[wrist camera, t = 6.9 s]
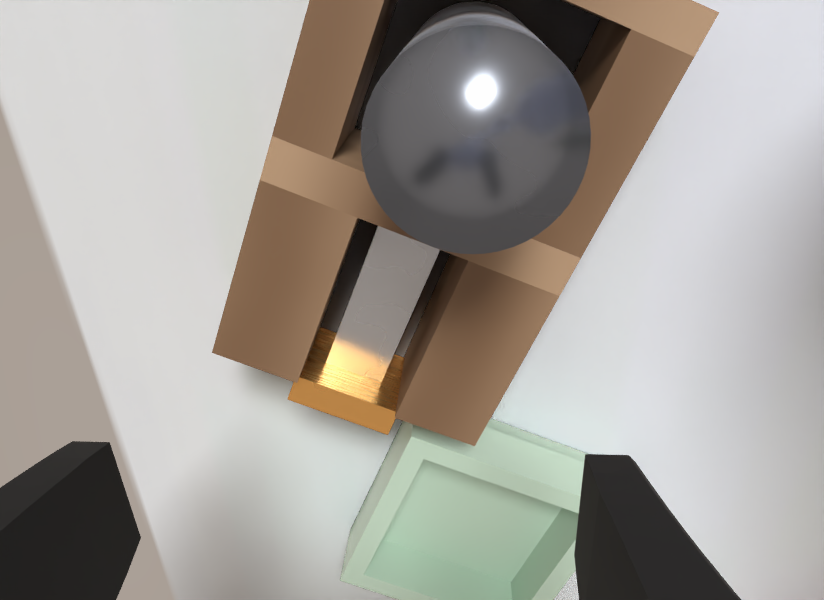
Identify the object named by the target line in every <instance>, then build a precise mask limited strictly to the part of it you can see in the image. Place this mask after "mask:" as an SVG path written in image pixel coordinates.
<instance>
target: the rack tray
mask: <svg viewBox="0 0 824 600" xmlns="http://www.w3.org/2000/svg"><path fill="white" fill-rule="evenodd" d="M585 454H587V453H584V452H581V451H579V450H576V449H573V448H570V447H568V446H565V445H562V444H559V443H557V442H554V441H551V440H548V439H546V438H543V437H540V436H537V435H535V434H532V433H529V432H526V431H524V430H521V429H518V428H515V427H512V426H510V425H507V424H504V423H501V422H499V421H496V420H493V419H490V420H489V422H488V424H487V425H486V427H485V429H484V431H483V433H482V434H481V436H480V438H479V440H478V441H477V443H476V445H475V446H472V445H470V444H467V443H464V442H461V441H458V440H456V439H453V438H450V437H447V436H444V435H442V434H439V433H436V432H433V431H430V430H428V429H425V428H422V427H419V426H416V425H414V424H411V423H408V422H405V421H402V423H401V426H400V428H399V430H398V432H397V434H396V436H395V438H394V440H393V442H392V444H391V446H390V448H389V451H388V453H387V455H386V457H385V459H384V461H383V463H382V465H381V467H380V469H379V471H378V474H377V476H376V478H375V480H374V482H373V484H372V486H371V488H370V490H369V492H368V494H367V496H366V499H365V501H364V503H363V505H362V507H361V509H360V511H359V513H358V515H357V517H356V519H355V521H354V524H353V526H352V528H351V530H350V535H349V539H348V544H347V549H346V554H345V559H344V563H343V568H342V573H341V578H340V581H342V582H345V583H349V584H352V585H355V586H358V587H361V588H364V589H367V590H370V591H373V592H376V593H379V594H382V595H385V596H388V597H391V598H395V599H398V600H554V598H555V597H556V596H557V594H558V593H559V592H560V590H561V589H562V588H563V586H564V585H565V584H566V582H567V581H568V580H569V578H570V577H571V576H572V574H573V573H574V572H575V570H576V567H575V558H574V552H575V543H576V533H577V524H578V515H579V506H580V497H581V487H582V478H583V469H584V460H585Z"/></svg>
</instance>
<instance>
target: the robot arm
mask: <svg viewBox="0 0 824 600" xmlns="http://www.w3.org/2000/svg"><path fill="white" fill-rule="evenodd" d="M140 538H141V537H140V534H139V531H138V528H137V525H136V522H135V519H134V515H133V512H132V510H131V506H130V503H129V500H128V497H127V494H126V491H125V488H124V485H123V482H122V479H121V476H120V473H119V470H118V467H117V464H116V460H115V457H114V454H113V451H112V448H111V445H110V443H109V442H75V441H73V442H71V443H69V444H67V445H66V446H64V447H62V448H61V449H59V450H57V451H56V452H54V453H52V454H51V455H49V456H48V457H46V458H45V459H43V460H41V461H40V462H38V463H37V464H35V465H34V466H32V467H31V468H29V469H28V470H26V471H25V472H23V473H22V474H20V475H19V476H17V477H16V478H14V479H13V480H11V481H10V482H8V483H7V484H5V485H4V486H2V487H1V488H0V600H116V598H117V596H118V594H119V591H120V589H121V587H122V584H123V582H124V580H125V577H126V575H127V573H128V570H129V567H130V565H131V562H132V559H133V556H134V554H135V552H136V549H137V546H138V544H139V541H140ZM574 558H575V567H576V575H577V584H578V593H579V600H741V599H740V598H739V597H738V595H737V594H736V593H735V592H734V591H733V589H732V588H731V587H730V586H729V585H728V583H727V582H726V581H725V580H724V578H723V577H722V576H721V575H720V574H719V572H718V571H717V570H716V569H715V567H714V566H713V565H712V564H711V563H710V561H709V560H708V559H707V558H706V556H705V555H704V554H703V553H702V552H701V550H700V549H699V548H698V546H697V545H696V544H695V543H694V541H693V540H692V539H691V538H690V536H689V535H688V534H687V532H686V531H685V530H684V528H683V527H682V526H681V524H680V523H679V522H678V520H677V519H676V518H675V516H674V515H673V514H672V513H671V511H670V510H669V509H668V507H667V506H666V504H665V503H664V502H663V500H662V499H661V498H660V496H659V495H658V493H657V492H656V491H655V489H654V488H653V486H652V485H651V484H650V482H649V481H648V479H647V478H646V477H645V475H644V474H643V472H642V471H641V469H640V468H639V467H638V465H637V464H636V462H635V461H634V460H633V459H632V458H631V457H630V456H629V455H595V454H585V460H584V469H583V478H582V487H581V497H580V506H579V515H578V524H577V533H576V543H575V552H574Z"/></svg>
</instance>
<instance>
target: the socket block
mask: <svg viewBox="0 0 824 600" xmlns="http://www.w3.org/2000/svg"><path fill="white" fill-rule="evenodd" d="M397 1H398V0H310V1H309V5H308V8H307V12H306V15H305V19H304V23H303V26H302V30H301V34H300V37H299V41H298V44H297V48H296V52H295V55H294V59H293V62H292V66H291V70H290V73H289V77H288V80H287V84H286V88H285V91H284V95H283V98H282V102H281V106H280V109H279V113H278V117H277V120H276V124H275V127H274V131H273V135H272V138H271V142H270V145H269V149H268V153H267V156H266V160H265V163H264V167H263V171H262V174H261V178H260V182H259V185H258V189H257V192H256V196H255V200H254V203H253V207H252V210H251V214H250V218H249V221H248V225H247V228H246V232H245V236H244V239H243V243H242V246H241V250H240V254H239V257H238V261H237V265H236V268H235V272H234V275H233V279H232V283H231V286H230V290H229V293H228V297H227V301H226V304H225V308H224V311H223V315H222V319H221V322H220V326H219V329H218V333H217V337H216V340H215V344H214V348H213V351H212V353H214V354H217V355H220V356H223V357H226V358H228V359H231V360H234V361H237V362H240V363H242V364H245V365H248V366H251V367H254V368H256V369H259V370H262V371H265V372H268V373H271V374H273V375H276V376H279V377H282V378H285V379H287V380H290V381H293V382H296V383H297V382H298V380H299V377H300V375H301V372H302V370H303V368H304V365H305V363H306V360H307V358H308V355H309V353H310V351H311V348H312V346H313V343H314V341H315V338H316V336H317V334H318V331H319V329H320V326H321V324H322V321H323V318H324V316H325V313H326V310H327V308H328V305H329V302H330V299H331V297H332V294H333V291H334V288H335V286H336V283H337V280H338V278H339V275H340V272H341V269H342V267H343V264H344V261H345V258H346V256H347V253H348V250H349V248H350V245H351V242H352V239H353V237H354V234H355V231H356V228H357V226H358V223H359V220H360V219H362V220H365V221H367V222H370V223H372V224H375V225H377V226H380V227H383V228H385V229H388V230H390V231H393V232H395V233H398V234H401V235H403V236H406V237H408V238H411V239H414V240H416V241H418V240H417V239H415V238H414V237H412V236H410V235H409V234H407V233H406V232H405V231H403V230H402V229H401V228H400V227H398V226H397V225H396V224H395V223H394V222H393V221H392V220H391V219H390V218H389V217H388V216H387V214H386V213H385V212H384V210H383V209H382V208H381V206H380V205H379V204H378V202H377V200H376V198H375V197H374V195H373V193H372V191H371V189H370V186H369V184H368V181H367V179H366V175H365V172H364V168H363V164H362V156H361V130H358V129H356V128H355V125H356V122H357V119H358V116H359V113H360V110H361V107H362V104H363V101H364V98H365V96H366V93H367V90H368V87H369V84H370V81H371V78H372V75H373V72H374V69H375V66H376V63H377V60H378V57H379V54H380V51H381V48H382V45H383V42H384V39H385V36H386V33H387V30H388V27H389V24H390V21H391V18H392V16H393V13H394V10H395V7H396V4H397ZM561 1H563V2H565V3H568V4H570V5H572V6H574V7H577V8H579V9H581V10H583V11H586V12H588V13H590V14H593V15H595V16H597V17H599V18H601V19H600V21H599V23H598V25H597V27H596V29H595V31H594V33H593V35H592V38H591V40H590V42H589V44H588V46H587V48H586V50H585V52H584V54H583V56H582V58H581V60H580V62H579V64H578V67H577V69H576V71H575V73H574V75H573V76H574V78H575V80H576V82H577V83H578V85H579V87H580V89H581V92H582V94H583V97H584V99H585V102H586V105H587V109H588V114H589V118H590V128H591V147H590V154H589V160H588V165H587V168H586V171H585V174H584V178H583V180H582V182H581V184H580V186H579V189H578V191H577V193H576V194H575V196H574V197H573V199H572V201H571V202H570V204H569V205H568V206H567V208H566V209H565V210H564V211H563V213H562V214H561V215H560V216H559V217H558V218H557V219H556V220H555V221H554V222H553V223H552V224H551V225H550V226H549V227H547V228H546V229H545V230H543V231H542V232H541V233H539V234H538V235H536V236H535V237H533V238H531V239H529V240H528V241H526V242H524V243H521V244H519V245H517V246H515V247H512V248H509V249H505V250H502V251H498V252H492V253H486V254H460V253H453V252H448V251H444V250H442V251H444V252H447V253H450V256H449V258H448V261H447V263H446V265H445V267H444V269H443V272H442V274H441V276H440V278H439V280H438V283H437V285H436V287H435V289H434V291H433V294H432V296H431V298H430V300H429V303H428V305H427V307H426V309H425V311H424V314H423V316H422V318H421V320H420V322H419V325H418V327H417V329H416V331H415V333H414V336H413V338H412V340H411V342H410V344H409V347H408V349H407V351H406V353H405V357H404V363H403V369H402V376H401V382H400V388H399V394H398V400H397V406H396V413H395V418H397V419H400V420H402V421H405V422H408V423H411V424H414V425H416V426H419V427H422V428H425V429H428V430H430V431H433V432H436V433H439V434H442V435H444V436H447V437H450V438H453V439H456V440H458V441H461V442H464V443H467V444H470V445H472V446H475V445H476V443H477V441H478V440H479V438H480V436H481V434H482V433H483V431H484V429H485V427H486V425H487V424H488V422H489V420H490V418H491V417H492V415H493V413H494V411H495V409H496V408H497V406H498V404H499V402H500V401H501V399H502V397H503V395H504V394H505V392H506V390H507V388H508V386H509V385H510V383H511V381H512V379H513V378H514V376H515V374H516V372H517V370H518V369H519V367H520V365H521V363H522V362H523V360H524V358H525V356H526V354H527V353H528V351H529V349H530V347H531V346H532V344H533V342H534V340H535V338H536V337H537V335H538V333H539V331H540V330H541V328H542V326H543V324H544V323H545V321H546V319H547V317H548V315H549V314H550V312H551V310H552V308H553V307H554V305H555V303H556V301H557V299H558V298H559V296H560V294H561V292H562V291H563V289H564V287H565V285H566V283H567V282H568V280H569V278H570V276H571V275H572V273H573V271H574V269H575V267H576V266H577V264H578V262H579V260H580V259H581V257H582V255H583V253H584V252H585V250H586V248H587V246H588V244H589V243H590V241H591V239H592V237H593V236H594V234H595V232H596V230H597V228H598V227H599V225H600V223H601V221H602V220H603V218H604V216H605V214H606V212H607V211H608V209H609V207H610V205H611V204H612V202H613V200H614V198H615V196H616V195H617V193H618V191H619V189H620V188H621V186H622V184H623V182H624V181H625V179H626V177H627V175H628V173H629V172H630V170H631V168H632V166H633V165H634V163H635V161H636V159H637V157H638V156H639V154H640V152H641V150H642V149H643V147H644V145H645V143H646V141H647V140H648V138H649V136H650V134H651V133H652V131H653V129H654V127H655V126H656V124H657V122H658V120H659V118H660V117H661V115H662V113H663V111H664V110H665V108H666V106H667V104H668V102H669V101H670V99H671V97H672V95H673V94H674V92H675V90H676V88H677V86H678V85H679V83H680V81H681V79H682V78H683V76H684V74H685V72H686V70H687V69H688V67H689V65H690V63H691V62H692V60H693V58H694V56H695V55H696V53H697V51H698V49H699V47H700V46H701V44H702V42H703V40H704V39H705V37H706V35H707V33H708V31H709V30H710V28H711V26H712V24H713V23H714V21H715V19H716V17H717V15H718V14H719V12H717V11H714V10H712V9H710V8H708V7H705V6H703V5H701V4H699V3H696V2H694V1H692V0H561ZM419 242H420V241H419ZM421 243H423V242H421ZM424 244H425V243H424ZM426 245H427V244H426ZM439 250H440V249H439Z"/></svg>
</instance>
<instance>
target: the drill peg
mask: <svg viewBox="0 0 824 600" xmlns="http://www.w3.org/2000/svg"><path fill="white" fill-rule="evenodd" d="M590 147H591V128H590V118H589V114H588V109H587V105H586V102H585V99H584V97H583V94H582V92H581V89H580V87H579V85H578V83H577V82H576V80H575V78H574V76H573V75H572V73H571V72H570V71H569V69H568V68H567V67H566V65H565V64H564V63H563V62H562V61H561V60H560V59H559V58H558V57H557V56H556V55H555V54H554V53H553V52H552V51H551V50H550V49H549V48H548V47H547V46H546V45H545V44H544V43H543V42H542V41H541V40H540V39H539V38H538V37H536V36H535V35H534V34H533V33H532V32H531V31H530V30H529V29H528V28H527V27H526V26H525V25H524V24H523V23H522V22H521V21H520V20H519V19H518V18H517V17H516V16H514V15H513V14H512V13H510V12H509V11H507V10H506V9H504V8H502V7H500V6H497V5H494V4H491V3H486V2H479V1H470V2H462V3H458V4H454V5H451V6H449V7H446V8H444V9H442V10H441V11H439V12H437V13H436V14H435V15H433V16H432V17H431V18H429V19H428V20H427V21H426V22H425V23H424V24H423V25H422V27H421V28H420V29H419V30H418V31H417V33H416V34H415V35H414V36H413V38H412V39H411V40H410V41H409V42H408V44H407V45H406V46H405V47H404V49H403V50H402V51H401V52H400V53H399V55H398V56H397V57H396V58H395V60H394V61H393V62H392V63H391V64H390V66H389V67H388V68H387V70H386V71H385V72H384V74H383V75H382V76H381V77H380V79H379V81H378V83H377V84H376V86H375V88H374V89H373V91H372V94H371V96H370V98H369V101H368V103H367V106H366V110H365V113H364V117H363V122H362V129H361V156H362V164H363V168H364V172H365V175H366V179H367V181H368V184H369V186H370V189H371V191H372V193H373V195H374V197H375V198H376V200H377V202H378V204H379V205H380V206H381V208H382V209H383V210H384V212H385V213H386V214H387V216H388V217H389V218H390V219H391V220H392V221H393V222H394V223H395V224H396V225H397V226H398V227H400V228H401V229H402V230H403V231H405V232H406V233H407V234H409V235H410V236H412V237H414V238H415V239H417V240H418V241H420V242H423V243H425V244H427V245H429V246H431V247H434V248H437V249H440V250H444V251H448V252H453V253H460V254H486V253H492V252H498V251H502V250H505V249H509V248H512V247H515V246H517V245H519V244H521V243H524V242H526V241H528V240H529V239H531V238H533V237H535V236H536V235H538V234H539V233H541V232H542V231H543V230H545V229H546V228H547V227H549V226H550V225H551V224H552V223H553V222H554V221H555V220H556V219H557V218H558V217H559V216H560V215H561V214H562V213H563V211H564V210H565V209H566V208H567V206H568V205H569V204H570V202H571V201H572V199H573V197H574V196H575V194H576V193H577V191H578V189H579V186H580V184H581V182H582V180H583V178H584V174H585V171H586V168H587V165H588V160H589V154H590Z"/></svg>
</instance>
